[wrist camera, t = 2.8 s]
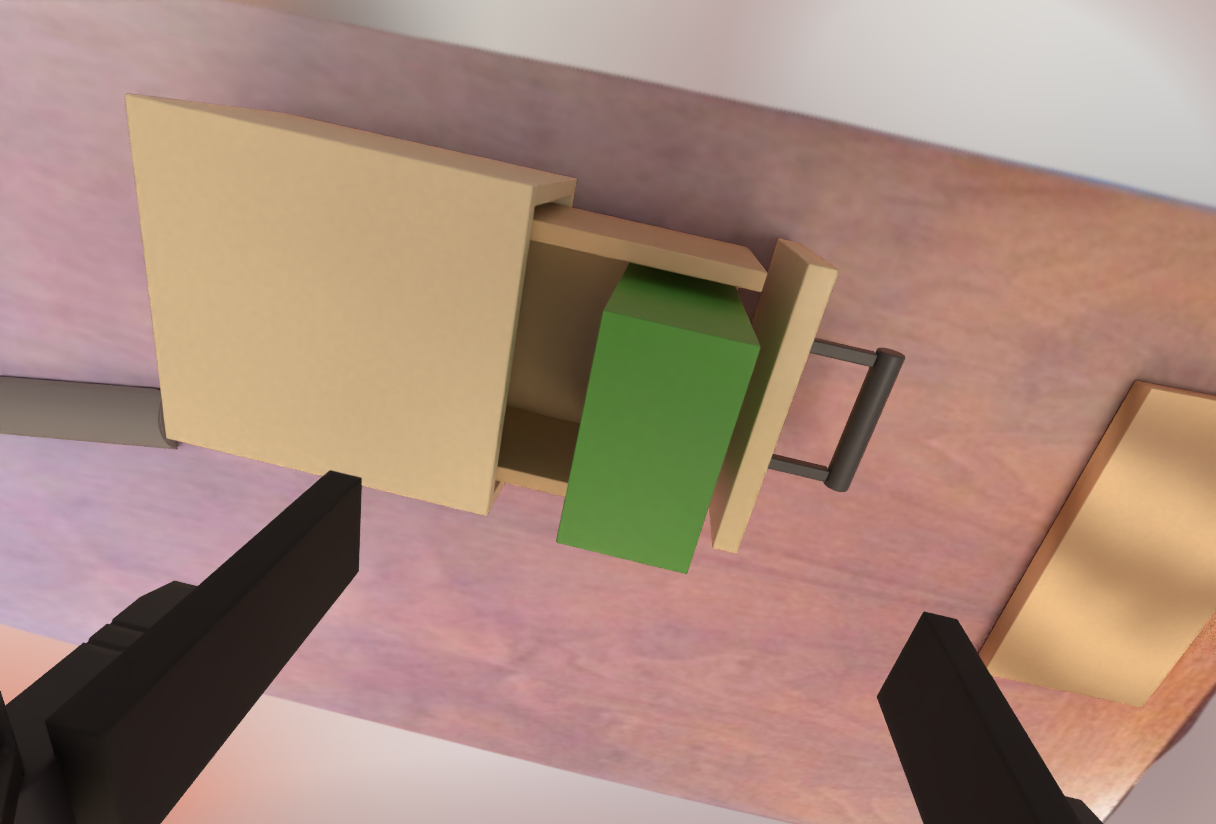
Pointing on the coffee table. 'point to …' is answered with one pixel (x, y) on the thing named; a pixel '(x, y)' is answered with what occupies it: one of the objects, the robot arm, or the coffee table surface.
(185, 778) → the robot arm
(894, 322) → the coffee table surface
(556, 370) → the drawer
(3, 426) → the half round rod
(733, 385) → the tall green block
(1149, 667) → the board
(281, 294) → the cabinet
